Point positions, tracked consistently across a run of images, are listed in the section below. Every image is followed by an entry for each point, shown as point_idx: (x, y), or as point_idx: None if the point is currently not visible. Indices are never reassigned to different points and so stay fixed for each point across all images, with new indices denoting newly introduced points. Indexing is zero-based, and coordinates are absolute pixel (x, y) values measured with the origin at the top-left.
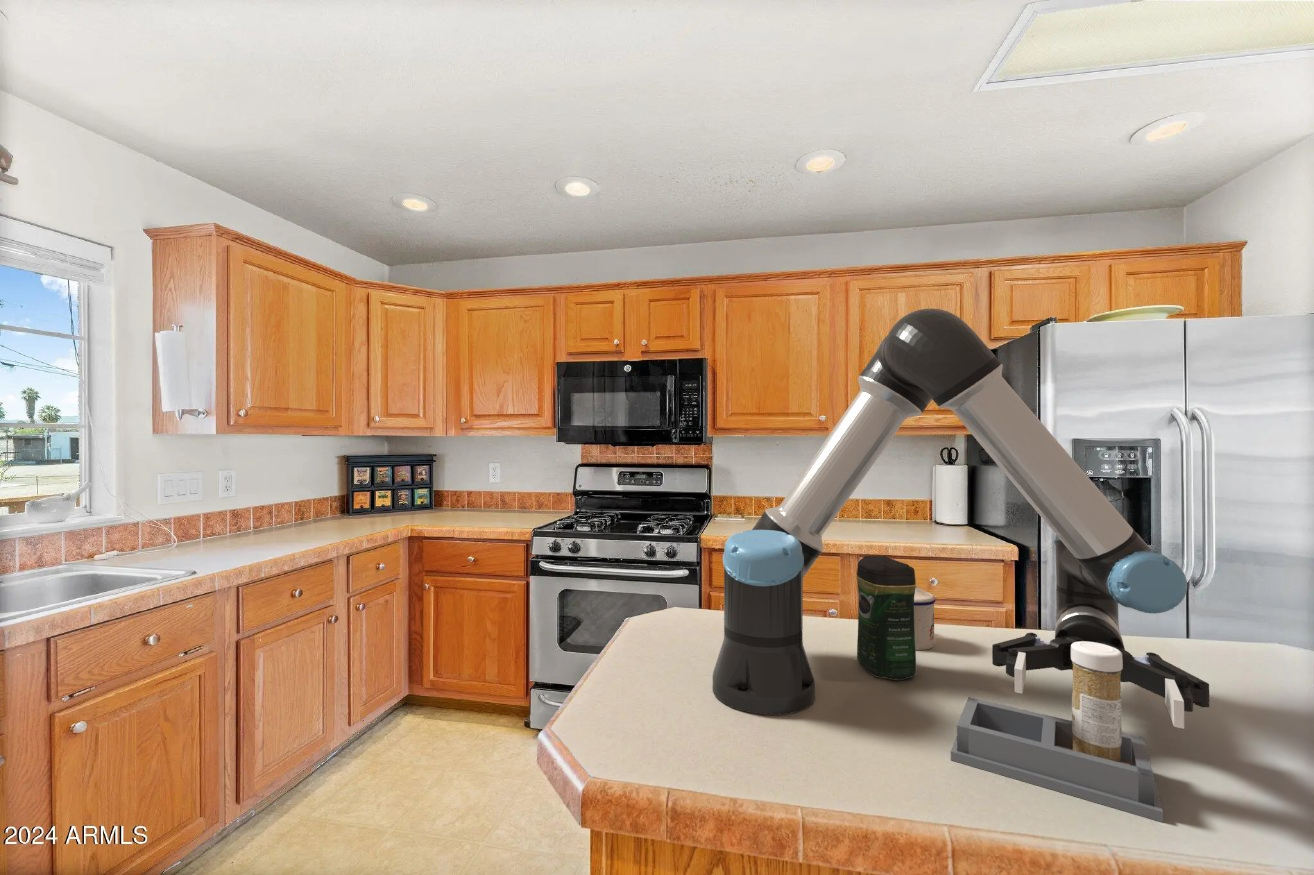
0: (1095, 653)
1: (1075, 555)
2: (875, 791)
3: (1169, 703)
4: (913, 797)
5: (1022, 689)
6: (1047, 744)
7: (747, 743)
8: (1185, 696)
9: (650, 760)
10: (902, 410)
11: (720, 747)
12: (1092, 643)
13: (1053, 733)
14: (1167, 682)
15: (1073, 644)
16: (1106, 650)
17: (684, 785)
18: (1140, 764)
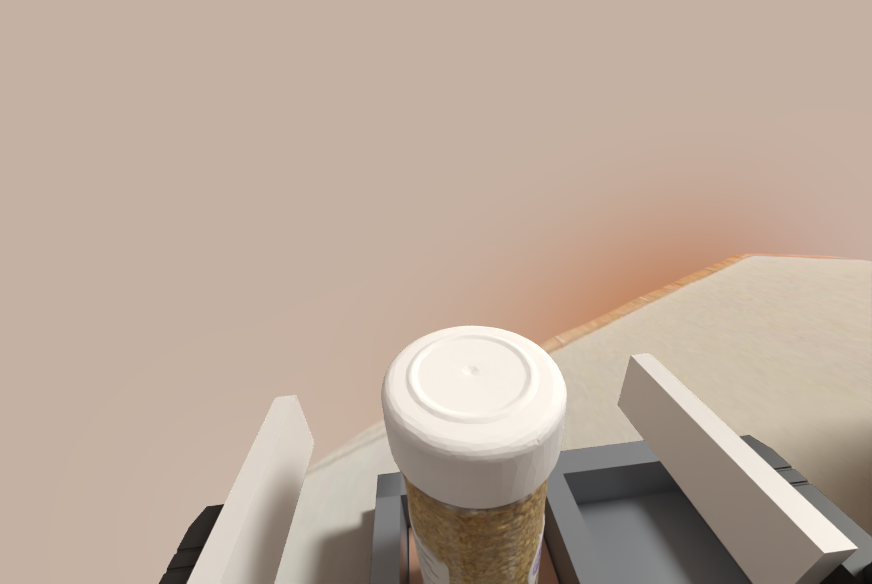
0: (462, 328)
1: None
2: (644, 345)
3: (278, 512)
4: (616, 358)
5: (624, 405)
6: (550, 474)
7: (810, 331)
8: (215, 516)
9: (775, 277)
10: None
11: (800, 313)
12: (494, 410)
13: (571, 553)
14: (226, 559)
15: (547, 357)
16: (433, 364)
17: (716, 276)
18: (393, 512)
